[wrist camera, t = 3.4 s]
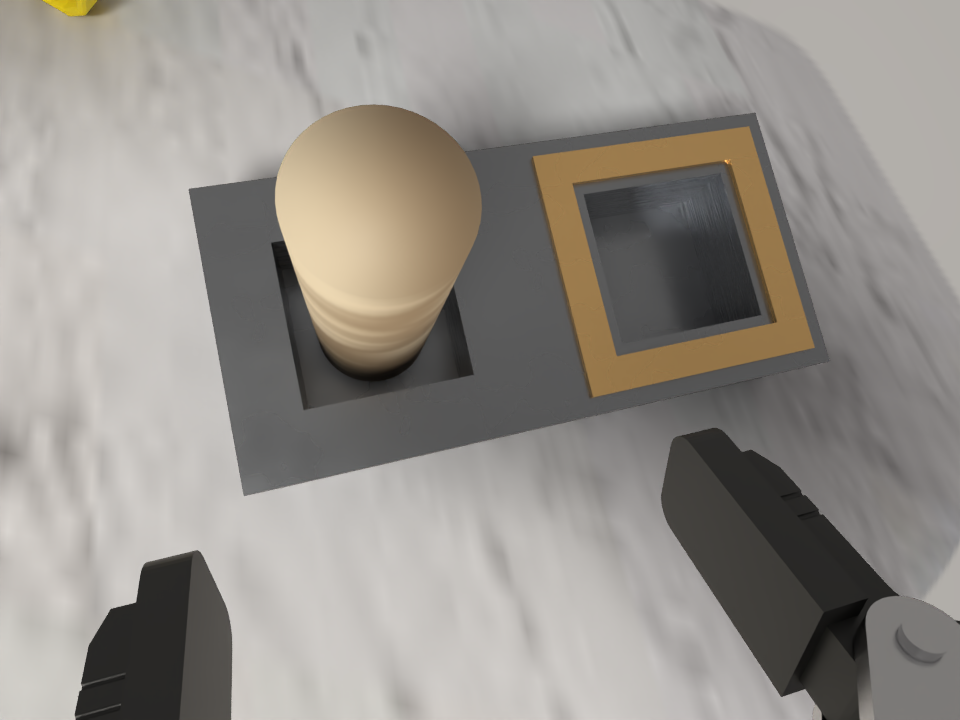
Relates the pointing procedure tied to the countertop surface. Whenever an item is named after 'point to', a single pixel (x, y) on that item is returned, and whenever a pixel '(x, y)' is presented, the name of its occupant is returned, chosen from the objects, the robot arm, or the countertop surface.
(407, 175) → the peg
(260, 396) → the base plate
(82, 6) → the watch
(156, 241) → the countertop surface
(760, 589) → the robot arm
